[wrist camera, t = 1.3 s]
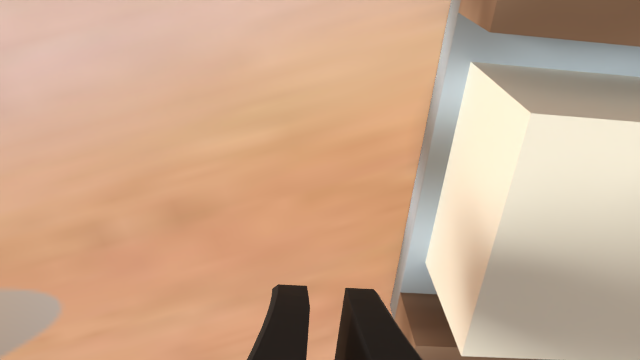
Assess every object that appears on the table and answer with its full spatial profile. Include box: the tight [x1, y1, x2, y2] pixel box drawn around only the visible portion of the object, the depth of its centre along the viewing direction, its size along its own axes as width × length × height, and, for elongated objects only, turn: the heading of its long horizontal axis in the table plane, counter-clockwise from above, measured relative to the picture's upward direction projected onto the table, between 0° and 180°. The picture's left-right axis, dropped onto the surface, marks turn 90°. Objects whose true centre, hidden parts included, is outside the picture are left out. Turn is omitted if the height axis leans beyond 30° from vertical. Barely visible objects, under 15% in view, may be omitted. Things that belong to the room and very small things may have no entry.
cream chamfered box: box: [425, 62, 640, 360], centre depth 18 cm, size 8×8×5 cm
